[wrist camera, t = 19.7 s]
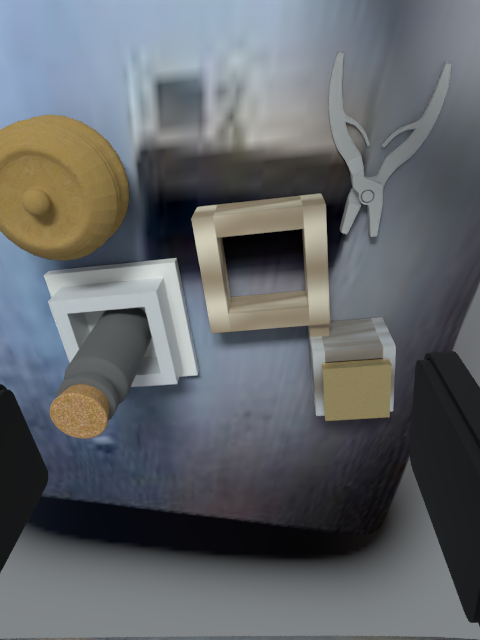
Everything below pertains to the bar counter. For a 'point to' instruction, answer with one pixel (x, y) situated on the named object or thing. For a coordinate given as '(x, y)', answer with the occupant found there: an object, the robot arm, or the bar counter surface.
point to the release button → (356, 389)
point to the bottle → (101, 373)
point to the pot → (59, 187)
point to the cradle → (128, 292)
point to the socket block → (285, 307)
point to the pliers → (372, 187)
